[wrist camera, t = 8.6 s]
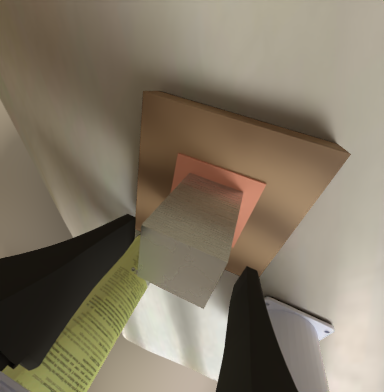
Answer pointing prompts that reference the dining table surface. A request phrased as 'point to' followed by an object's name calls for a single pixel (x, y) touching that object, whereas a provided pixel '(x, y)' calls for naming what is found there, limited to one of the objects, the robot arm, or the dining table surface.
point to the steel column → (190, 238)
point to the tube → (88, 331)
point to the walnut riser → (234, 170)
